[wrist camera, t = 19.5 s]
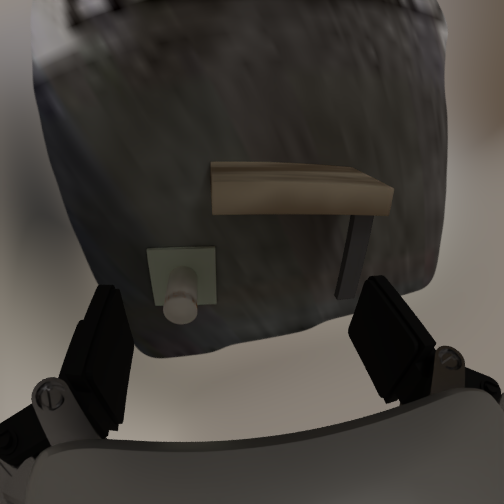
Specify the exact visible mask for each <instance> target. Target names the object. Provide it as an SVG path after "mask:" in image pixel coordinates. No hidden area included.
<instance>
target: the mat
mask: <svg viewBox="0 0 504 504" xmlns="http://www.w3.org/2000/svg"><path fill="white" fill-rule="evenodd" d="M147 257H148V264H149V271H150V277H151V283H152V289H153V295H154V301H155V306H164V301H165V295H166V289H167V283H168V277H169V273H170V272H171V270H173V269H174V268H176V267H179V266H186V267H189V268H191V269H193V270H194V271H195V273H196V274H197V278H198V285H197V305H203V304H217V297H216V259H215V246H200V247H169V248H147Z"/></svg>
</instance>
